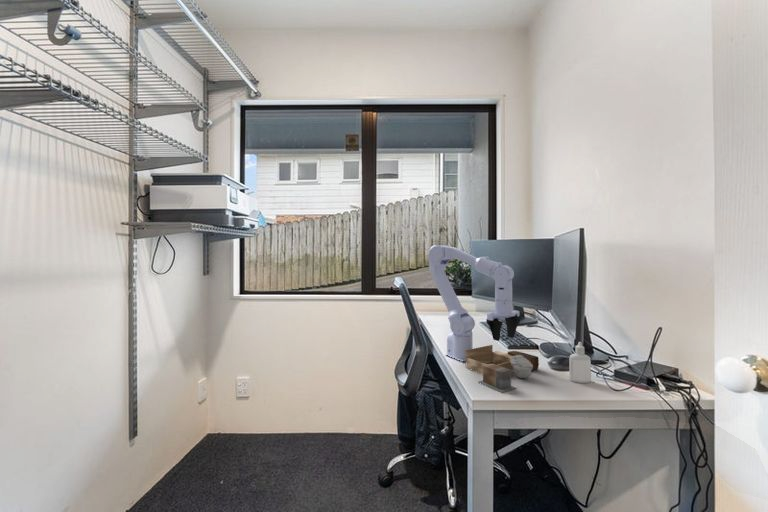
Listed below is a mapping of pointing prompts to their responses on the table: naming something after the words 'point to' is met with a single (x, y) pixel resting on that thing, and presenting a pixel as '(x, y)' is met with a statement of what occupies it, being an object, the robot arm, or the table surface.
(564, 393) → the table surface
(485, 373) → the box
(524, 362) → the grey faceted rock
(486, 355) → the carton
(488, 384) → the mat
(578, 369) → the eye dropper bottle
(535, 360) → the brick
